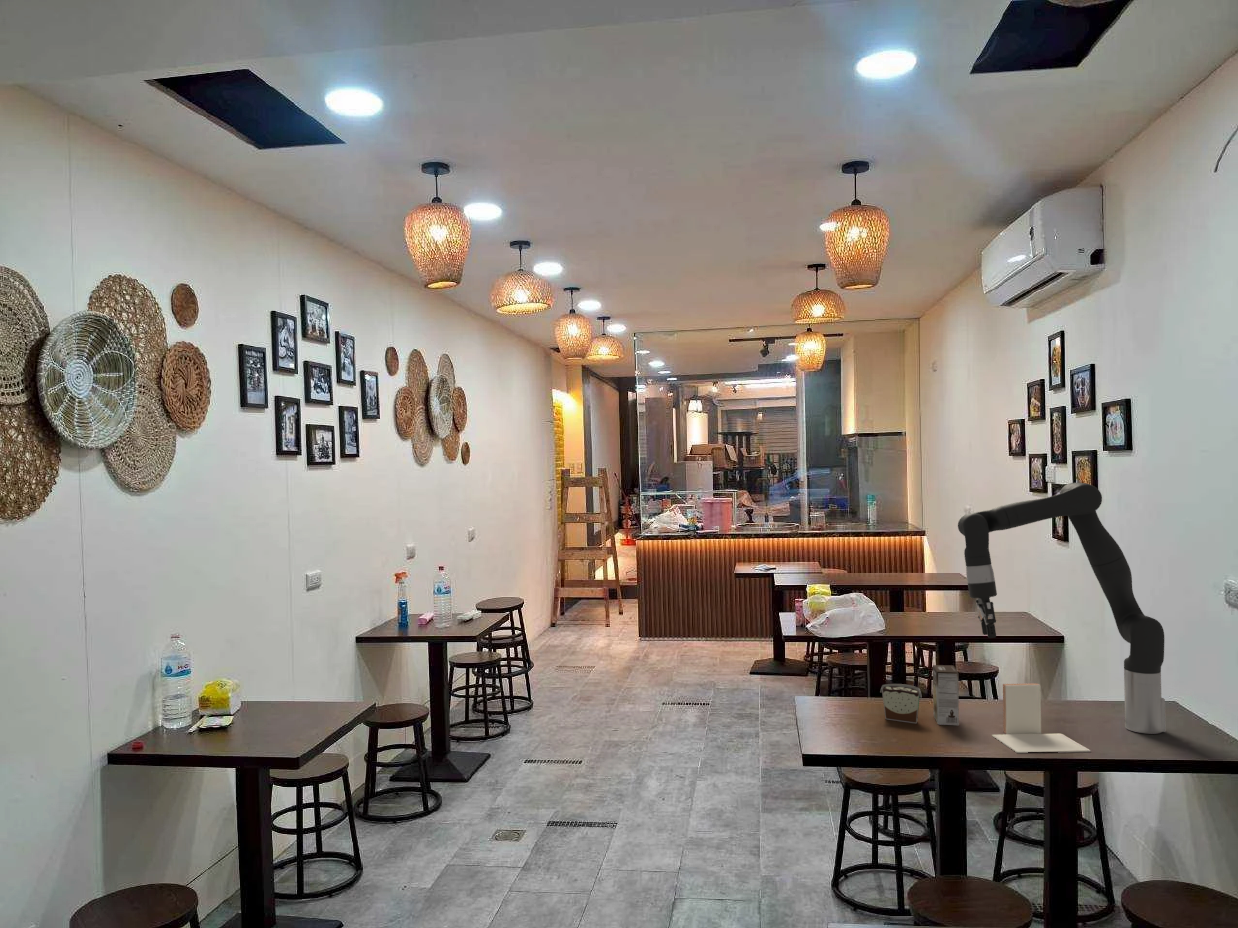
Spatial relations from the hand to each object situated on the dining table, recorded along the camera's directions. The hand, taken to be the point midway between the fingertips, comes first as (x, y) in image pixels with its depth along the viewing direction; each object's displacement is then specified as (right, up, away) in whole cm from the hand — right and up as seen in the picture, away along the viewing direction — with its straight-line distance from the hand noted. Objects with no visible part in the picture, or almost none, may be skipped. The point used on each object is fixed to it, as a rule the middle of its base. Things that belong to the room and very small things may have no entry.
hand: (989, 636), depth 252 cm
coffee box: (-9, -28, +9) cm, 31 cm away
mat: (+8, -27, -14) cm, 31 cm away
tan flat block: (+8, -27, -4) cm, 29 cm away
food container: (-21, -28, +12) cm, 37 cm away
